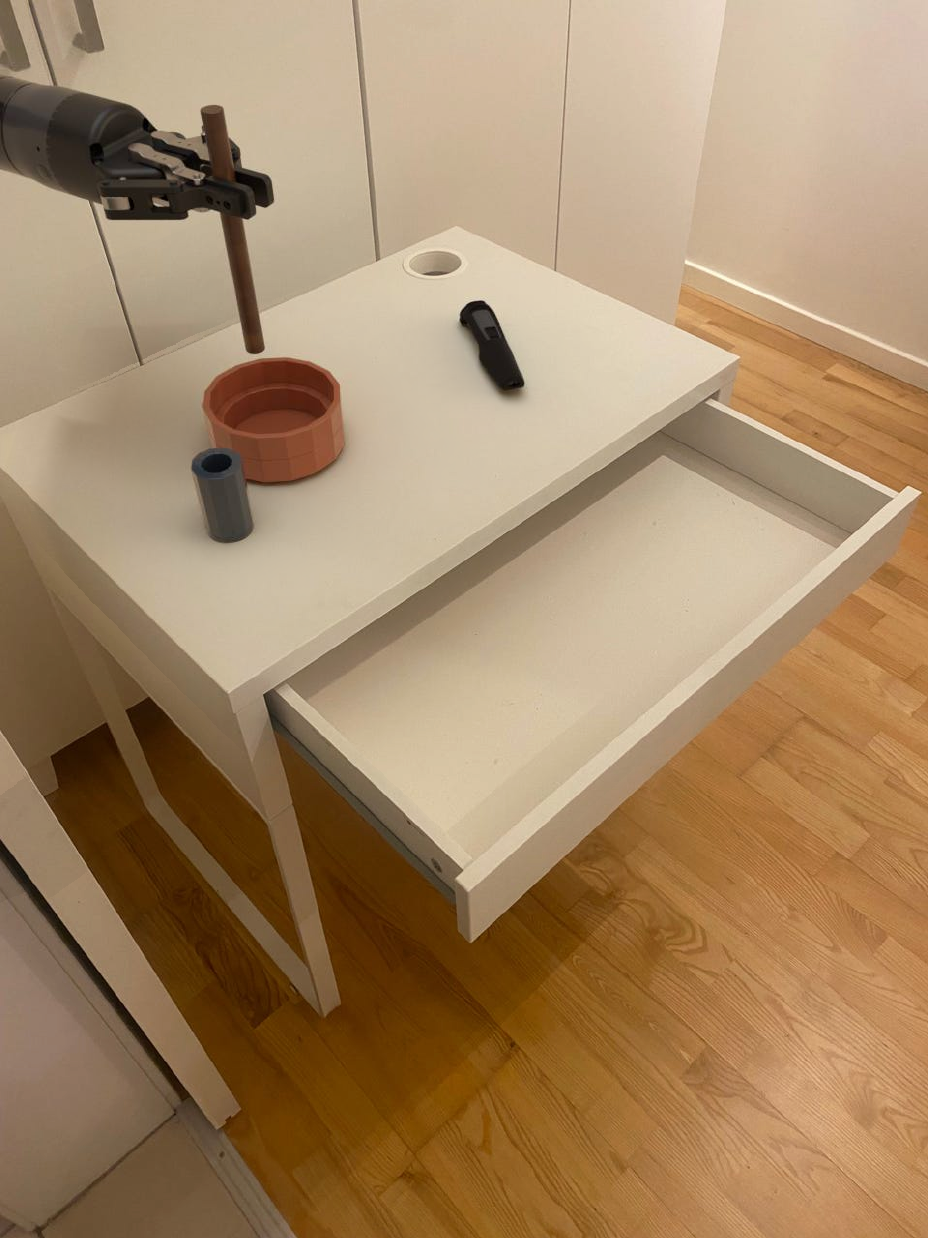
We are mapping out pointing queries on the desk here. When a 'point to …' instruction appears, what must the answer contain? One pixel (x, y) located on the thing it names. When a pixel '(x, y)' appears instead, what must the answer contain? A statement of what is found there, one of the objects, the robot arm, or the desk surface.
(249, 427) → the bowl
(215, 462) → the tube
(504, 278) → the desk surface
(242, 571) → the desk surface
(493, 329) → the electric trimmer
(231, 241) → the stick
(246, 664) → the desk surface
